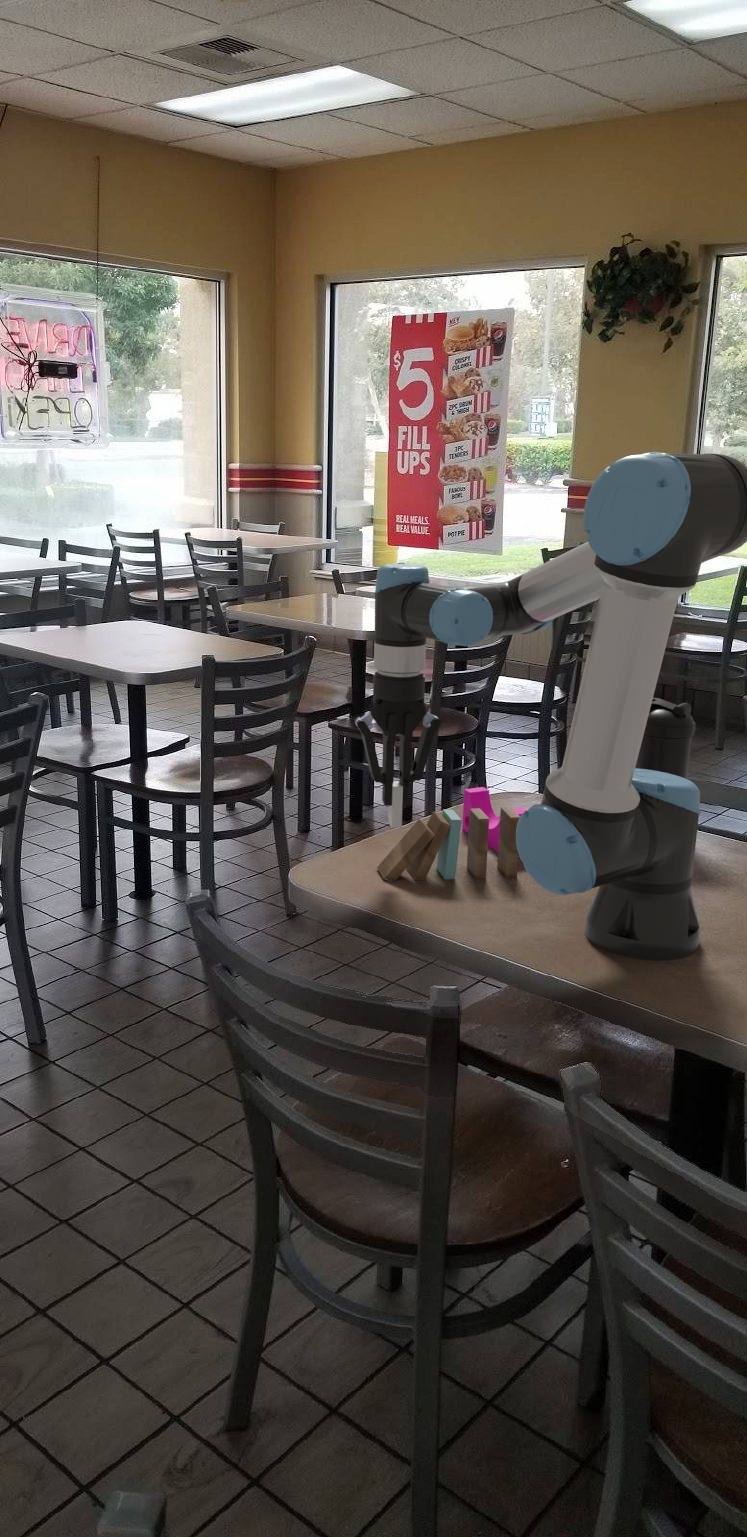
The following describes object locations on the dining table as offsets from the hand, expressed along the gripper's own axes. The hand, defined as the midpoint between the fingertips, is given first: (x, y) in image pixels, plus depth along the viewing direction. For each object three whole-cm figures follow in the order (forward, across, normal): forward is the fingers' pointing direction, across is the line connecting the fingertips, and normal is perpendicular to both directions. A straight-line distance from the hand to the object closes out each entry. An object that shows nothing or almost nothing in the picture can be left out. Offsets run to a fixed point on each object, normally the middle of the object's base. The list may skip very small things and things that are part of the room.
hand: (394, 825), depth 182 cm
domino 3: (+9, -8, 0) cm, 12 cm away
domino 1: (+8, +1, 0) cm, 8 cm away
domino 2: (+9, -3, 0) cm, 9 cm away
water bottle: (+9, -50, -16) cm, 54 cm away
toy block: (+9, -22, -15) cm, 28 cm away
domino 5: (+9, -18, 0) cm, 20 cm away
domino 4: (+9, -13, 0) cm, 16 cm away
